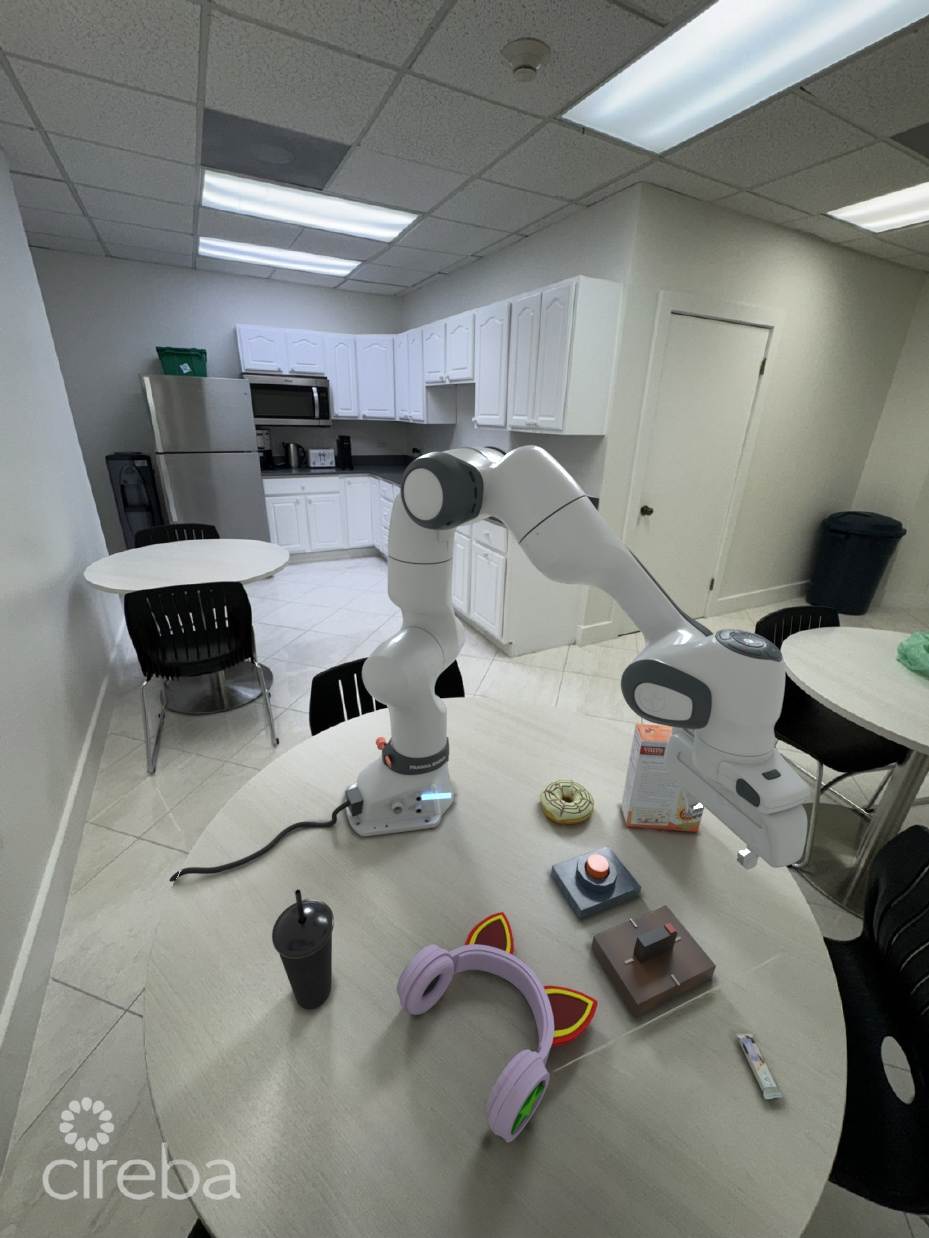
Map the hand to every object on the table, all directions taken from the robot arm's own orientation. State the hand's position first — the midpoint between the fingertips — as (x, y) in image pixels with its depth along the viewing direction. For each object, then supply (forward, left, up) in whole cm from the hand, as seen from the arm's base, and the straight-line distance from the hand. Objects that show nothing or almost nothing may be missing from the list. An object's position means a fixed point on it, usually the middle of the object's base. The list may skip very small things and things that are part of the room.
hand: (718, 837), depth 68 cm
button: (-7, +14, -18) cm, 24 cm away
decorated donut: (-2, +31, -22) cm, 38 cm away
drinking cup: (-54, +14, -22) cm, 60 cm away
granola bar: (-3, -15, -22) cm, 27 cm away
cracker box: (+14, +22, -22) cm, 34 cm away
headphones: (-31, +2, -22) cm, 39 cm away
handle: (-7, 0, -19) cm, 20 cm away
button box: (-7, +14, -22) cm, 27 cm away
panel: (-7, 0, -22) cm, 23 cm away
